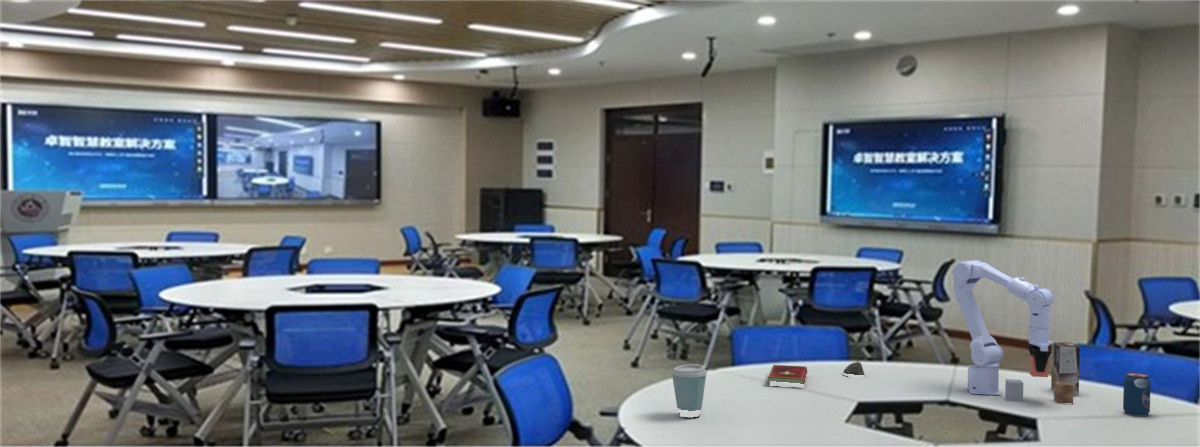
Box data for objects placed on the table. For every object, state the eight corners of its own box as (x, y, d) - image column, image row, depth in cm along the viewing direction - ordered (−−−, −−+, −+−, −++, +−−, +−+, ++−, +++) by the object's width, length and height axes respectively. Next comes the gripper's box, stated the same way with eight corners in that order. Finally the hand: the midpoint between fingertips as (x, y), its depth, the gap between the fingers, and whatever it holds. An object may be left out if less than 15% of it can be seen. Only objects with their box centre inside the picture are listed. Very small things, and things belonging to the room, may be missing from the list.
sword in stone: (838, 373, 333) (839, 340, 333) (859, 373, 334) (860, 341, 333) (848, 379, 323) (849, 345, 323) (869, 379, 324) (871, 346, 323)
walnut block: (1057, 403, 287) (1057, 384, 287) (1054, 400, 291) (1054, 381, 291) (1073, 404, 286) (1073, 385, 285) (1069, 400, 290) (1069, 382, 290)
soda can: (1149, 418, 269) (1150, 377, 268) (1122, 414, 272) (1123, 375, 272) (1149, 412, 275) (1150, 373, 274) (1123, 409, 278) (1124, 371, 278)
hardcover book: (807, 377, 328) (807, 365, 328) (803, 390, 308) (804, 377, 308) (773, 375, 331) (773, 364, 331) (768, 388, 311) (768, 375, 311)
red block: (1032, 376, 286) (1032, 357, 285) (1029, 373, 290) (1029, 354, 290) (1048, 377, 284) (1048, 358, 284) (1044, 374, 289) (1045, 355, 288)
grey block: (1007, 400, 290) (1008, 382, 290) (1005, 397, 295) (1005, 379, 295) (1023, 401, 289) (1023, 382, 289) (1020, 398, 294) (1020, 379, 293)
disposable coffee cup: (683, 422, 266) (683, 371, 265) (664, 413, 275) (664, 364, 274) (713, 417, 271) (714, 367, 270) (693, 409, 280) (694, 361, 279)
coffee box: (1079, 396, 296) (1080, 346, 295) (1058, 395, 297) (1059, 346, 297) (1071, 389, 305) (1072, 342, 304) (1050, 389, 306) (1051, 341, 306)
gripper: (1059, 331, 278) (1058, 375, 279) (1048, 324, 292) (1047, 366, 293) (1033, 330, 280) (1033, 374, 281) (1024, 323, 294) (1023, 365, 295)
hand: (1038, 370), depth 287 cm, fingers closed on red block, 4 cm apart
